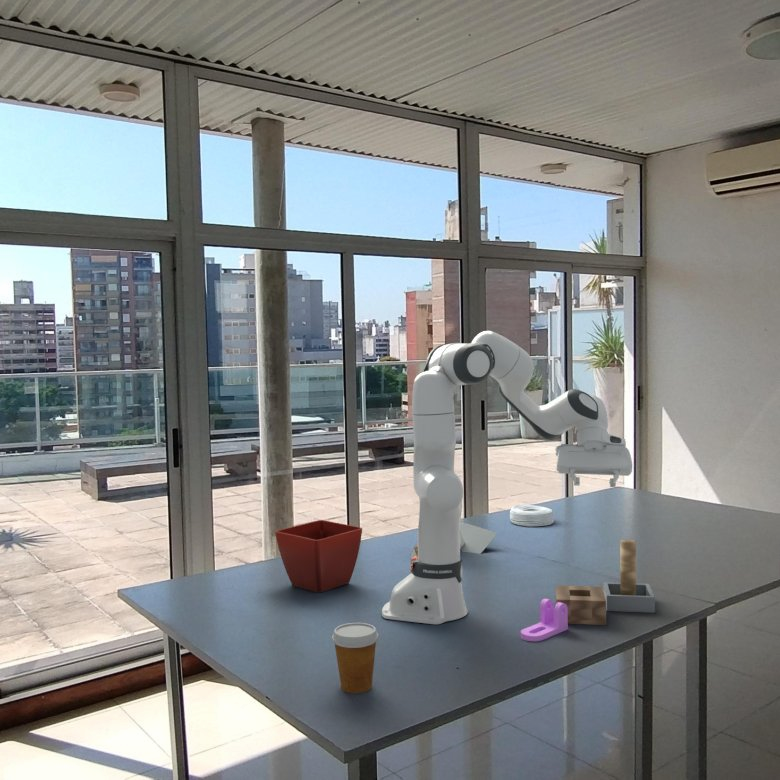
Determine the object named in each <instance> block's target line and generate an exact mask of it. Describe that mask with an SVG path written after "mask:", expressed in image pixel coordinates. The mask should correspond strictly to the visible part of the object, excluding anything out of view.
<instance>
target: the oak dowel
mask: <svg viewBox="0 0 780 780" xmlns="http://www.w3.org/2000/svg"><path fill="white" fill-rule="evenodd" d="M619 541H620V543H619V549H620V550H619V551H620V552H619V554H620V555H619V556H620V559H619V562H620V569H619V570H620V572H619V573H620V574H619V575H620V580H619V583H620V595H634V596H636V583H637V542H636V541H635V540H633V539H621V540H619Z"/></svg>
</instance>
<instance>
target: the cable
mask: <svg viewBox="0 0 780 780" xmlns="http://www.w3.org/2000/svg"><path fill="white" fill-rule="evenodd" d="M553 512H554V511H553V510H552V509H551V508H548V507H546V506H540V505H533V504H518V505H514V506H512V507H511V508H510V511H509V520H510V521H511V523H512V524H515V525H518V526H521V527H527V528H529V527H532V528H533V527H541V526H542V527H545V526H550V525H553V524H554V523H555V518H554V513H553ZM545 523H546V524H545ZM532 524H533V525H532Z"/></svg>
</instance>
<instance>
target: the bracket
mask: <svg viewBox="0 0 780 780" xmlns="http://www.w3.org/2000/svg"><path fill="white" fill-rule="evenodd" d="M568 624H569V623H568V608H567V605H566V604H565V603H561V602H558V603H557V604H556V603H555V605H554V602H553V600H552V599H549V598H543V599H542V600H541V602H540V604H539V622H538V623H536V624H533V625H531V626H528V627H526V628H523V629H521V630H520V639H522V640H524V641H527V642H541V641H544V640H546V639H548V638H551V637H553V636H555V635H558V634H560V633H562V632H565V631H567V630H568V629H569V625H568Z"/></svg>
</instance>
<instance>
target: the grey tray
mask: <svg viewBox="0 0 780 780" xmlns="http://www.w3.org/2000/svg"><path fill="white" fill-rule="evenodd" d="M603 591H604V595H605V599H606V612H628V613H629V612H630V613H632V612H633V613H656V597H655V595H654V592H653V590H652V588H651V586H650V583H638V582H636V596H634V595H620V582H607V581H606V582H603Z"/></svg>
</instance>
